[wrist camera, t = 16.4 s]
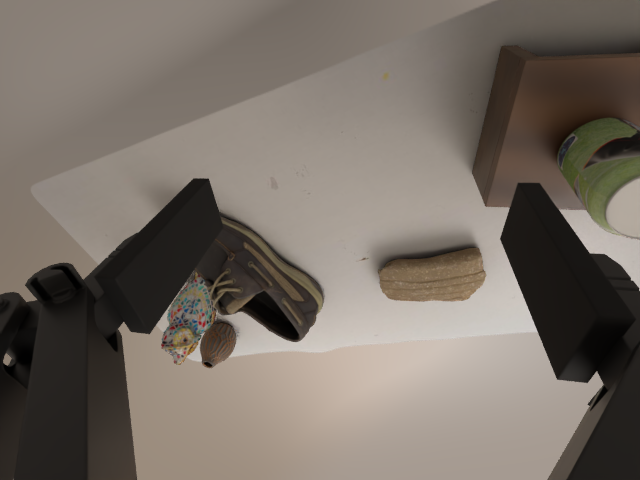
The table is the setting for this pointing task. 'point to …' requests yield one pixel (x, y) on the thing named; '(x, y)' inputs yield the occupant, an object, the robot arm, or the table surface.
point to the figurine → (188, 319)
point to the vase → (217, 344)
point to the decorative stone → (434, 277)
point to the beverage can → (605, 173)
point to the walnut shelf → (547, 117)
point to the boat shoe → (259, 283)
